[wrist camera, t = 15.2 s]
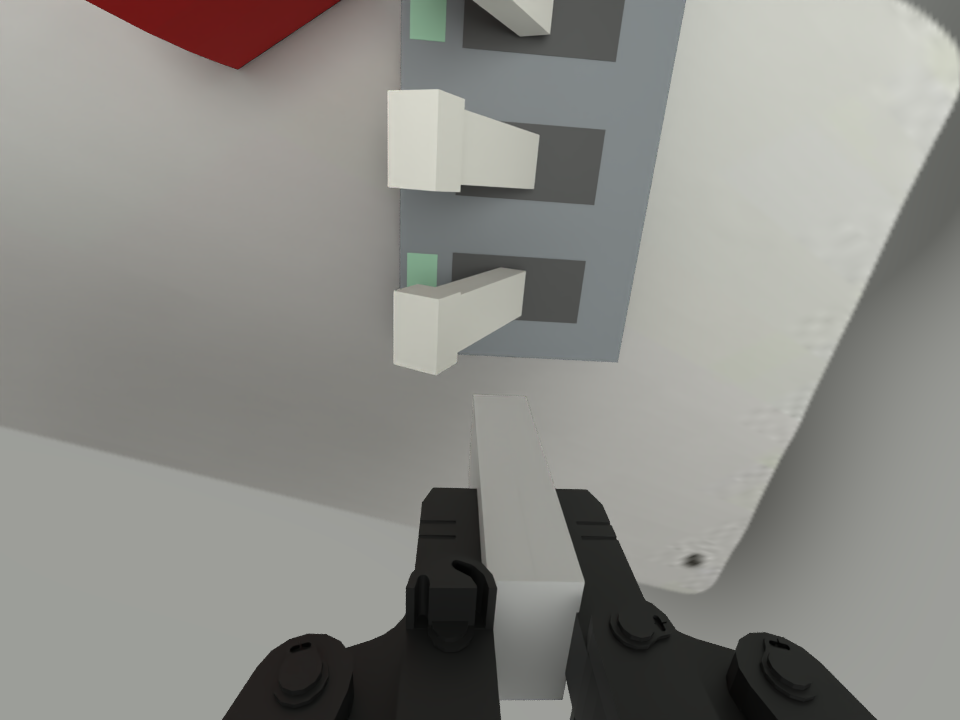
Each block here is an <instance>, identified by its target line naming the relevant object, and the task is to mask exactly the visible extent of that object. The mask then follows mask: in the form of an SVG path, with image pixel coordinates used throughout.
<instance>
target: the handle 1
mask: <svg viewBox="0 0 960 720" xmlns="http://www.w3.org/2000/svg"><path fill="white" fill-rule="evenodd" d="M387 103H388V187H391V188H403V189H415V190H426V191H441V192H460V188H461V185H473V186H489V187H505V188H522V189H534V184H535V175H536V165H537V155H538V146H539V136H540V135H538V134H535V133H532V132H529V131H526V130H523V129H520V128H517V127H515V126H512V125H509V124H506V123H503V122H500V121H497V120H494V119H491V118H488V117H485V116H482V115H479V114H476V113H473V112H470V111H467V110H464V109H465V99H463V98H461V97H458V96H455V95H453V94H450V93H447V92H445V91H442V90H440V89H426V90H387Z"/></svg>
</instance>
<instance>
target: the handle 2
mask: <svg viewBox="0 0 960 720" xmlns="http://www.w3.org/2000/svg"><path fill="white" fill-rule="evenodd" d="M473 1H474V2H475V3H477V4H478V5H479V6H481V7H482V8H483V9H485V10H486V11H487V12H489V13H490V14H491V15H492V16H494V17H495V18H496V19H498V20H499V21H500V22H502V23H503V24H504V25H506V26H507V27H508V28H509V29H511V30H512V31H513V32H515V33H516V34H517V35H519V36H520V37H521V36H535V35H549V34H550V30H551V21H552V11H553V1H554V0H473Z"/></svg>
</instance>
